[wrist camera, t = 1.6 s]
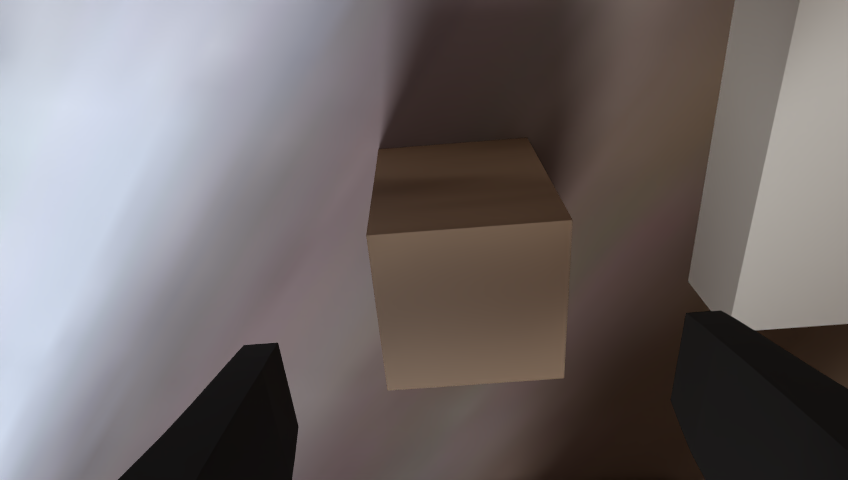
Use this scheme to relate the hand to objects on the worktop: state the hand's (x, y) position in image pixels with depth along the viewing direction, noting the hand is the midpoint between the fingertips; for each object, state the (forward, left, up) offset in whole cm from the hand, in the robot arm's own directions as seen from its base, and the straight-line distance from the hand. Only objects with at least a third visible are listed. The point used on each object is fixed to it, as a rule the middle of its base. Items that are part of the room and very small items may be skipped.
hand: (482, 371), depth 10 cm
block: (0, 0, -7) cm, 7 cm away
